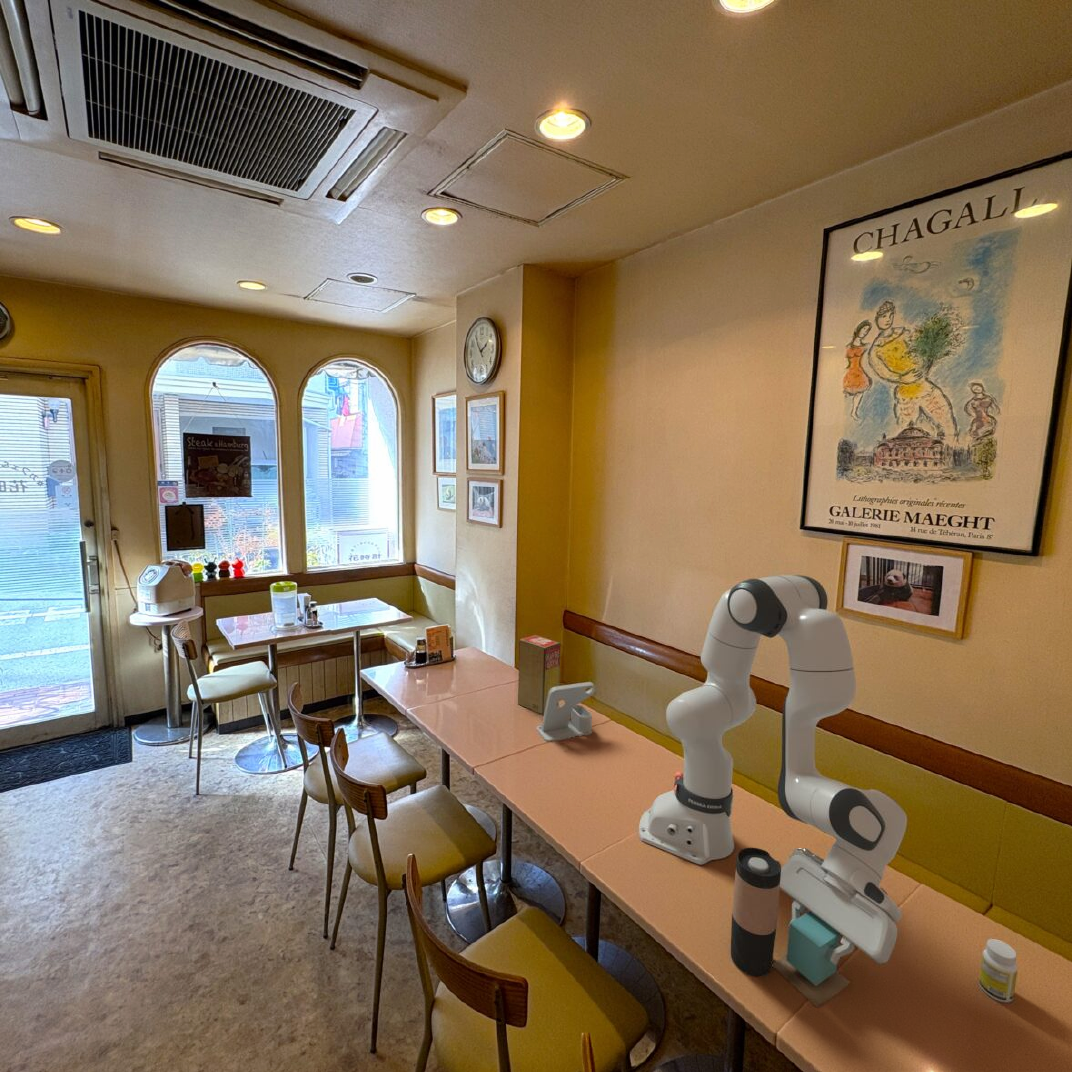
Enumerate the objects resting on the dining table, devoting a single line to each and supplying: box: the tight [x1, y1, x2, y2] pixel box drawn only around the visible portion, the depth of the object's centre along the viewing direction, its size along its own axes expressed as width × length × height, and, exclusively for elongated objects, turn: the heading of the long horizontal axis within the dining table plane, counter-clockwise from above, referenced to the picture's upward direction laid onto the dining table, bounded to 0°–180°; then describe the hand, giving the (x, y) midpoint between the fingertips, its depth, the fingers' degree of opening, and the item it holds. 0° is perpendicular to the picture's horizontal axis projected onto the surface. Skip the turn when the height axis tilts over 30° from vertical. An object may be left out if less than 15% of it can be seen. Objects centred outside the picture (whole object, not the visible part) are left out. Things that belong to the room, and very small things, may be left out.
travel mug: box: [730, 847, 782, 978], centre depth 103 cm, size 8×8×20 cm
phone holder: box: [536, 681, 596, 743], centre depth 190 cm, size 17×10×18 cm, turn 111°
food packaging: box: [517, 634, 562, 716], centre depth 208 cm, size 13×9×25 cm
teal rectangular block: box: [786, 911, 841, 986], centre depth 101 cm, size 6×6×8 cm
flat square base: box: [771, 954, 850, 1008], centre depth 101 cm, size 9×9×6 cm
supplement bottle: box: [978, 938, 1019, 1003], centre depth 99 cm, size 5×5×8 cm
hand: (811, 945), depth 101 cm, fingers closed on teal rectangular block, 6 cm apart
